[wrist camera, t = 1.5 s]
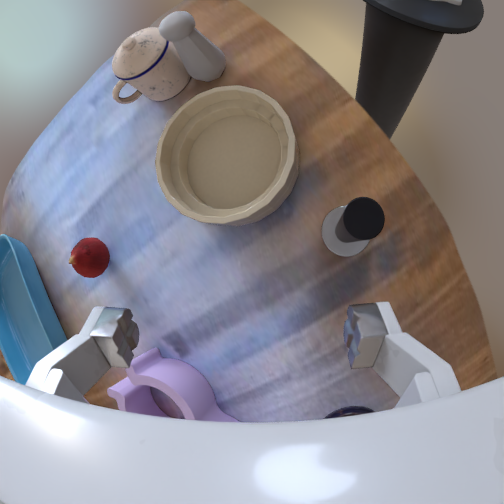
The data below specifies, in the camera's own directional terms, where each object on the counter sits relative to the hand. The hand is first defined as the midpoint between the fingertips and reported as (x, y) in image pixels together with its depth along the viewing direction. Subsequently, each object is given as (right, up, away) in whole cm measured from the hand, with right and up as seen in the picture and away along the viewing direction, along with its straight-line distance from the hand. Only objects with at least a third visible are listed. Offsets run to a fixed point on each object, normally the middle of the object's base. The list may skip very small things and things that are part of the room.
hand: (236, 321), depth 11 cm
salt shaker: (-5, +29, +27) cm, 40 cm away
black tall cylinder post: (+11, +5, +23) cm, 26 cm away
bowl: (-2, +14, +26) cm, 30 cm away
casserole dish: (-44, -11, +38) cm, 59 cm away
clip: (-9, -21, +29) cm, 37 cm away
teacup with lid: (-14, +29, +29) cm, 43 cm away
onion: (-22, +2, +32) cm, 39 cm away
